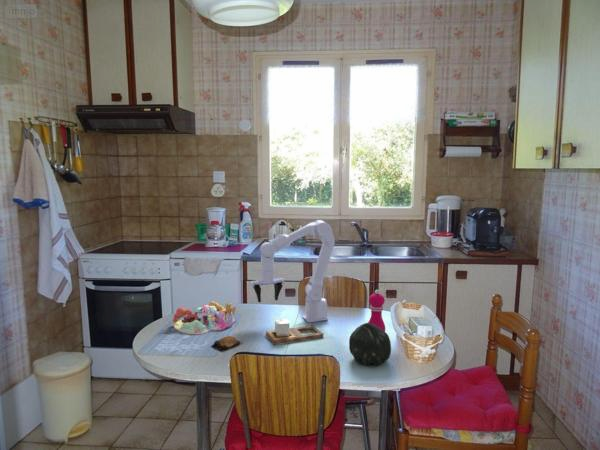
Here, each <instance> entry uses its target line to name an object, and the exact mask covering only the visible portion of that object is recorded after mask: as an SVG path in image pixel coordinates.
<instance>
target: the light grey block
mask: <svg viewBox="0 0 600 450" xmlns="http://www.w3.org/2000/svg"><path fill="white" fill-rule="evenodd" d="M289 328H290V321H289V320H288V318H281V319H280V318H279V319H278V318H277V319H274V330H275V337H276V338H282V337H288V336H289Z"/></svg>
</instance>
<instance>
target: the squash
mask: <svg viewBox="0 0 600 450" xmlns="http://www.w3.org/2000/svg"><path fill="white" fill-rule="evenodd" d="M348 343H349V345H348V347H349V352H350V354H351V356H353V359H354V361H355V362H356V363H357V364H363V365H364V366H370V364H372V365H374V366H379V365H380V364H383V363H385V362H387V361H388V360H389V358H390V357H391V353H392V345H391V343H392V342H391V339H390V336H389V334H388V333H387V332H386V330H385V331H383V330H382V329H381V328H380V327H378V326H376V325H374V324H371V323H368V322H365V323H363V324H360V325H358V326H357V327H356V328H355V329H354V330H353V332H352V333H351V334H350V336H349V339H348Z"/></svg>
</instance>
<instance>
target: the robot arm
mask: <svg viewBox="0 0 600 450" xmlns="http://www.w3.org/2000/svg"><path fill="white" fill-rule="evenodd" d="M308 235H311V236H318V238H319V239H320V241H321V243H322V244H321V248H320V250H319V255H318V258H317V260H316V263H315V267H314V268H313V269H314V270H313V273H312V276H311V277H310V279H309V282H308V283H307V284H305V287H304V292H305V294H306V296H305V315H302V316H301V318H303V319H304V320H305V321H307V322H308V323H315V322H322V321H328V320H329V317H328V308H329V307H328V302H327V299H326V298H323V295H324V293H323V288H324V279H325V275H326V272H327V269H328V266H329V263H330V259H331V256H332V254H333V250H334V247H335V244H336V243H335V242H336V241H335V237H334V233H333V229H332V227H331V226H330V224H329V223H327V222H325V221H323V220H321V219H316V220H315V221H312V222H309V223H308V224H306V225H304V226H302V227H300V228H299V229H296V230H294V231H293V232H291V233H289V234H285V233H283V234H281V233H280V234H278V235H277V237H275V238H273V239H269V240H268V242H267V241H265V242H263V243H262V244H260V247H259V251H260V253H261V255H260V279H256V280H251V281H250V286H251V287H252V289H254V292H255V294H256V299H257V302H258V303H261V302H262V299H261V297H262V296H261V293H262V288H261V286H266V285H273V287H274V288H273V289H274V300H275V301H278V299H279V294H280V292H281V290H282V288H283V286H284V285H283V284H285V278H283V277H281V278H280V277H279V278H276V277H275V259H274V255H275V253H278V252H280V251H282V250H284V249H286V248H288V247H290V246H291V243H292V242H294V241H297V240H299V239H300V238H303V237H305V236H308Z"/></svg>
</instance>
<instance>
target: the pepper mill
mask: <svg viewBox="0 0 600 450" xmlns="http://www.w3.org/2000/svg"><path fill="white" fill-rule="evenodd" d="M368 302H369V304H370V306H369V309H370V313H371V314H370V318H369V320H368V322H367V323H371V324H374V325H376V326H378V327H380V328H381V329H382V330H383V331H385V332H386V324H385V322H384V319H383V316H382V314H383V310H384V306H383V305H384V304H385V302H386V301H385V297H384V295H383V294H381V293H380V290H379V289H376V290H374V293H372V294H371V295H369V300H368Z"/></svg>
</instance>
